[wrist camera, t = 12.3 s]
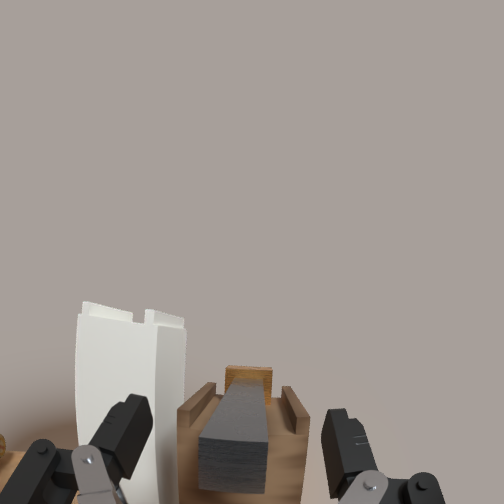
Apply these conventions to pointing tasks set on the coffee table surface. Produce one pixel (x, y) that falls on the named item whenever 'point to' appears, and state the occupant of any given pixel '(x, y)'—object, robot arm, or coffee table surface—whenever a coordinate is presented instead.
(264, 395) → the gray orange-ended bar
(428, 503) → the robot arm
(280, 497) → the brown tall wooden block
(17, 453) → the coffee table surface
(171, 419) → the stand
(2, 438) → the toy helicopter
